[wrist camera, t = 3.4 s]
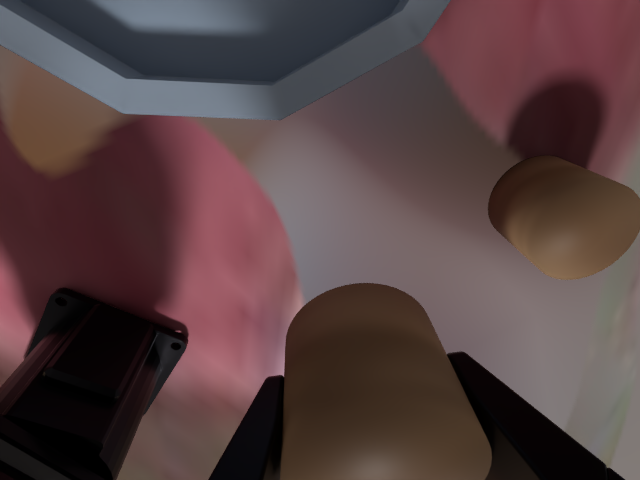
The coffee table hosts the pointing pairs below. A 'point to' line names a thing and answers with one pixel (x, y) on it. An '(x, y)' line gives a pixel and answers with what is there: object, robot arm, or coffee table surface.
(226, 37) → the groove tray
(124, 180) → the coffee table surface
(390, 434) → the bead
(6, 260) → the coffee table surface
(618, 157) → the coffee table surface
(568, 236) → the bead
